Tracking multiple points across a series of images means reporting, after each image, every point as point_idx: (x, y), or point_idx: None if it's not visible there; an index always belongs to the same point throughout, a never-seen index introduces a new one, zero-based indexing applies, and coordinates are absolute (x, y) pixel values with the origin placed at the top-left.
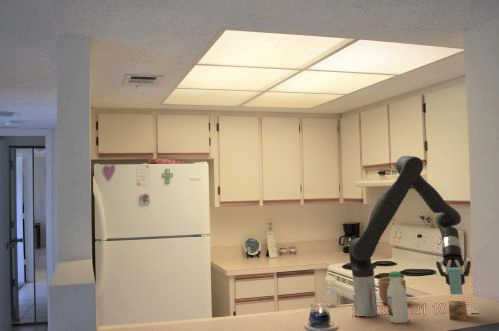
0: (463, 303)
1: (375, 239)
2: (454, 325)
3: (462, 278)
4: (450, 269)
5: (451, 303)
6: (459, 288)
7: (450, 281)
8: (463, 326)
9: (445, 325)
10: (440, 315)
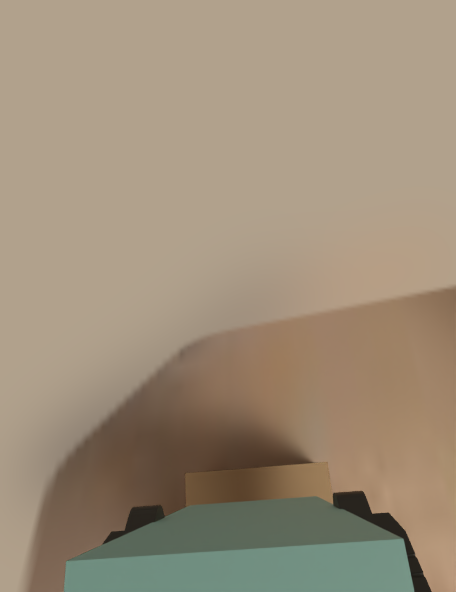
0: None
1: None
2: (275, 339)
3: None
4: (343, 587)
5: None
6: (208, 508)
7: (324, 511)
8: (226, 330)
9: (325, 330)
10: None
